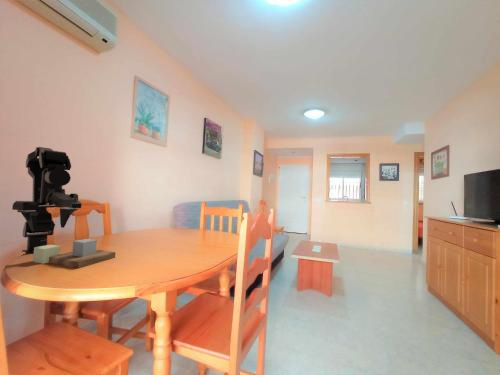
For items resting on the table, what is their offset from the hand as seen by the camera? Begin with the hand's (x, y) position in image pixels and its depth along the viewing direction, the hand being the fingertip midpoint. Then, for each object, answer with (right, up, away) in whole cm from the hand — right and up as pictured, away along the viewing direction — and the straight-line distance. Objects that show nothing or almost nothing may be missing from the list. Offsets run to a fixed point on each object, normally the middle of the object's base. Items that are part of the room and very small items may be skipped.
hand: (48, 229), depth 82 cm
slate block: (+11, -10, +3) cm, 15 cm away
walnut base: (+11, -12, +2) cm, 16 cm away
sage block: (-1, -11, 0) cm, 11 cm away
